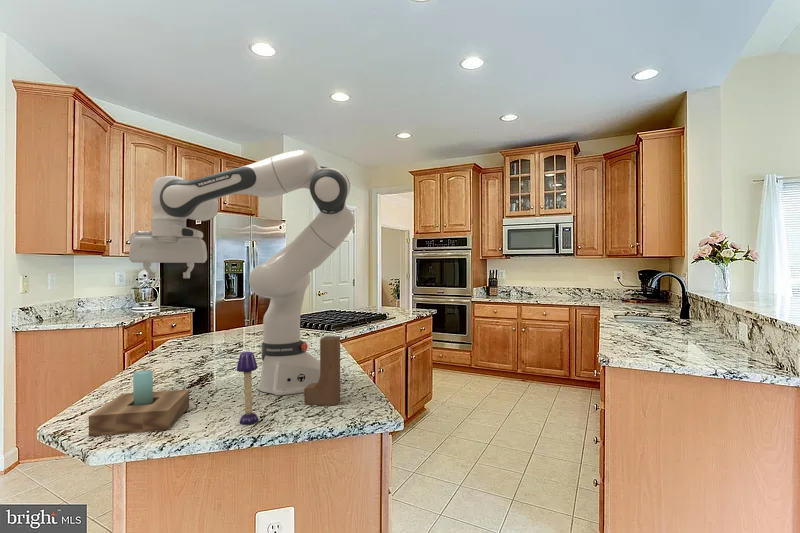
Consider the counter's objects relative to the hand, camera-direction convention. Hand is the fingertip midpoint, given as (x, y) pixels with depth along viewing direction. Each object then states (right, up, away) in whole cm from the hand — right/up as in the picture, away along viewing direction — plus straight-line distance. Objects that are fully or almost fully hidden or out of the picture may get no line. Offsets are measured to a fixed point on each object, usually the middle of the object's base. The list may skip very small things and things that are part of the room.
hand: (169, 278), depth 118 cm
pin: (+6, -33, -20) cm, 40 cm away
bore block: (+6, -34, -20) cm, 40 cm away
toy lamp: (+31, -34, -22) cm, 51 cm away
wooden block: (+47, -34, -8) cm, 59 cm away
